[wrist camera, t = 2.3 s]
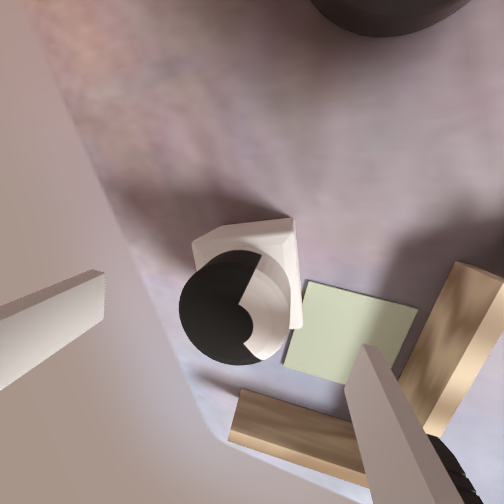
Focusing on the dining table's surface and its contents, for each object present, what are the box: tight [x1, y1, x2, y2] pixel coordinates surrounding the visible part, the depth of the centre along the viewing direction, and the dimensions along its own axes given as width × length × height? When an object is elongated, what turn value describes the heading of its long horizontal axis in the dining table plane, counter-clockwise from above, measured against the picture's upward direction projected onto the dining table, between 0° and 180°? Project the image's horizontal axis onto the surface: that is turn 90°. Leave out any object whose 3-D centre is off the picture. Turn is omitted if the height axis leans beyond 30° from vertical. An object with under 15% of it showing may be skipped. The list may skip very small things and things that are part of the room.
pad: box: [283, 281, 418, 385], centre depth 24 cm, size 10×10×1 cm
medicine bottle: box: [179, 218, 303, 365], centre depth 18 cm, size 7×7×12 cm
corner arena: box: [228, 261, 504, 488], centre depth 22 cm, size 21×16×5 cm
